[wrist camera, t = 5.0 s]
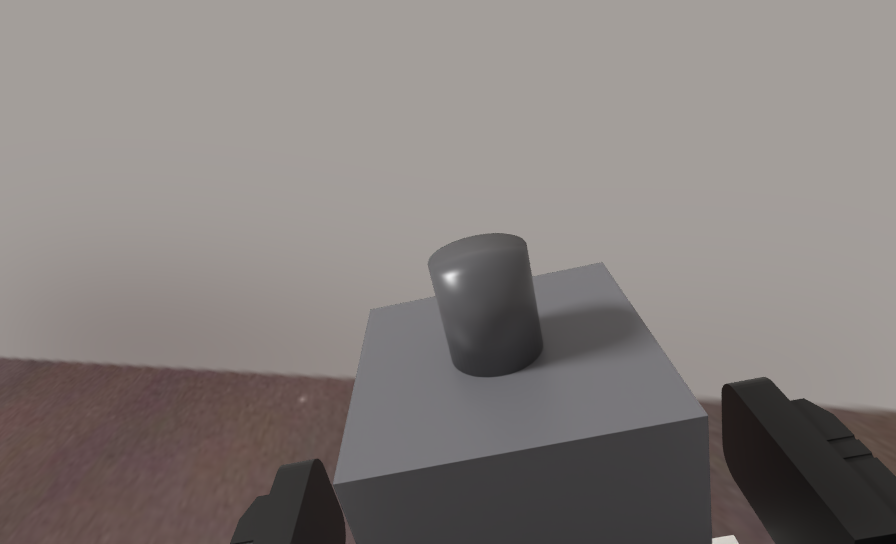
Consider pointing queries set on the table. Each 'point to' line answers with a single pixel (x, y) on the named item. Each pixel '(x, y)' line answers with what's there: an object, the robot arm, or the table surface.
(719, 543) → the power strip
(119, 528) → the table surface
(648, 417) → the charger
